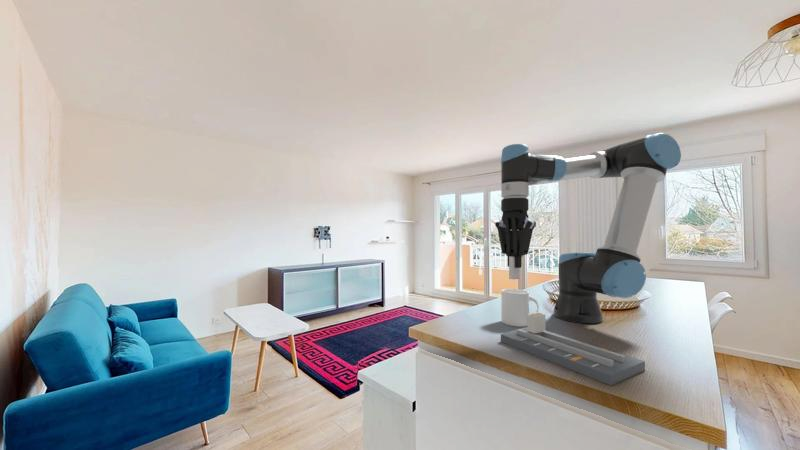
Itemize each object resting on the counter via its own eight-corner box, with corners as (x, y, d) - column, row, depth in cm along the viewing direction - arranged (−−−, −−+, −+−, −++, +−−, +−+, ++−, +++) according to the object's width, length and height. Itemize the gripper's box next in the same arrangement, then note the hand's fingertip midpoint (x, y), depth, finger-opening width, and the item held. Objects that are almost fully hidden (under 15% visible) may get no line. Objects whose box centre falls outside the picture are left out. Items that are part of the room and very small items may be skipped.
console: (533, 333, 92) (533, 322, 92) (644, 370, 68) (644, 355, 68) (500, 341, 85) (500, 329, 85) (610, 385, 61) (610, 369, 61)
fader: (537, 332, 85) (537, 312, 86) (545, 335, 83) (545, 314, 84) (527, 335, 83) (527, 314, 83) (534, 338, 81) (534, 316, 81)
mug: (544, 327, 98) (543, 293, 98) (505, 327, 98) (505, 293, 98) (533, 320, 106) (533, 289, 106) (498, 319, 107) (498, 288, 107)
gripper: (488, 199, 94) (488, 276, 94) (524, 195, 83) (524, 283, 82) (506, 200, 98) (505, 275, 97) (542, 197, 87) (542, 281, 86)
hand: (514, 278), depth 90 cm, fingers closed
